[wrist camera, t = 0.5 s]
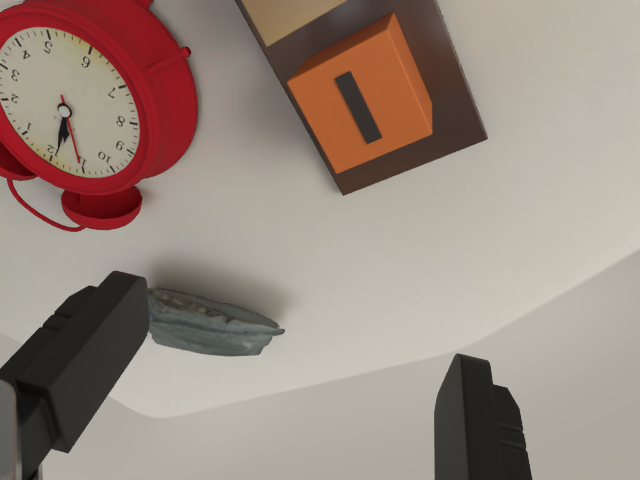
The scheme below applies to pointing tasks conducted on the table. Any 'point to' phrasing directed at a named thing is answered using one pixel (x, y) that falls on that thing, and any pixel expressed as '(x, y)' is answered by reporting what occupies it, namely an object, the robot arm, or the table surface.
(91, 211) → the alarm clock
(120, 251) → the table surface
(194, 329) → the stone
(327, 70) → the orange slotted cube
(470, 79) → the table surface
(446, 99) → the tray
